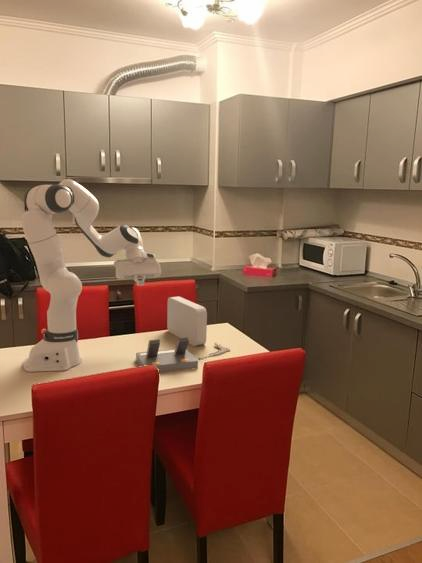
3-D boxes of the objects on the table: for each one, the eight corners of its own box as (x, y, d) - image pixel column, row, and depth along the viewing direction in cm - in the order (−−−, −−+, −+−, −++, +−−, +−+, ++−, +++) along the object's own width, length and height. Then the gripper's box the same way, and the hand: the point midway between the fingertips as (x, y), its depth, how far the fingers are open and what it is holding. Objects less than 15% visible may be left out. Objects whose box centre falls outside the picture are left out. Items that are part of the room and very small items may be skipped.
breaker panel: (144, 374, 180) (144, 366, 180) (136, 359, 195) (136, 352, 194) (197, 368, 188) (197, 360, 187) (185, 354, 203) (186, 347, 202)
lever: (174, 355, 193) (178, 342, 186) (173, 352, 194) (177, 338, 187) (185, 354, 194) (189, 341, 188) (184, 351, 196) (188, 337, 189)
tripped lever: (146, 358, 189) (149, 344, 182) (145, 355, 190) (148, 340, 183) (157, 357, 190) (160, 342, 184) (156, 354, 191) (159, 339, 185)
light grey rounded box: (210, 344, 216) (211, 307, 213) (196, 347, 212) (197, 309, 209) (180, 328, 240) (180, 294, 236) (167, 330, 235) (167, 296, 232)
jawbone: (232, 350, 213) (233, 346, 213) (217, 366, 194) (217, 361, 194) (214, 345, 216) (215, 341, 216) (197, 361, 197) (198, 356, 197)
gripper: (113, 256, 204) (118, 282, 197) (159, 254, 211) (164, 279, 204) (112, 264, 209) (116, 290, 202) (156, 262, 216) (161, 287, 209)
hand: (141, 284), depth 203 cm, fingers closed
